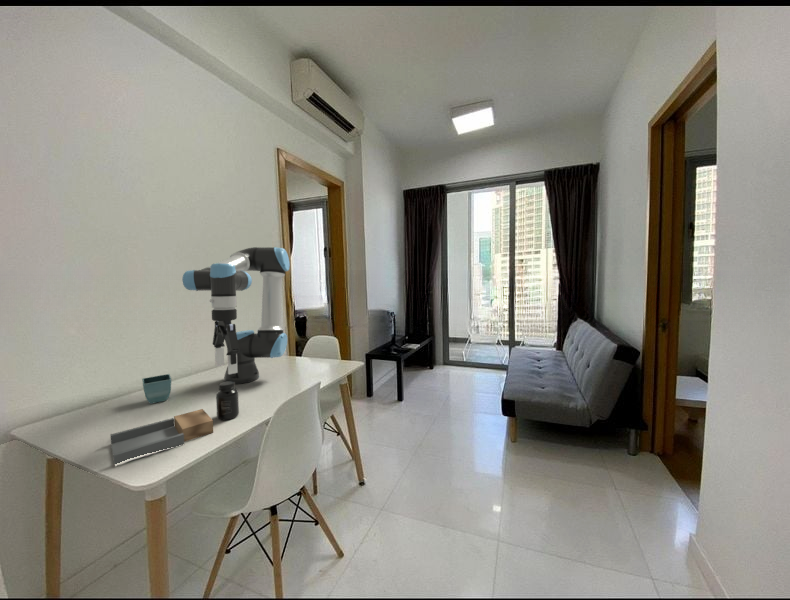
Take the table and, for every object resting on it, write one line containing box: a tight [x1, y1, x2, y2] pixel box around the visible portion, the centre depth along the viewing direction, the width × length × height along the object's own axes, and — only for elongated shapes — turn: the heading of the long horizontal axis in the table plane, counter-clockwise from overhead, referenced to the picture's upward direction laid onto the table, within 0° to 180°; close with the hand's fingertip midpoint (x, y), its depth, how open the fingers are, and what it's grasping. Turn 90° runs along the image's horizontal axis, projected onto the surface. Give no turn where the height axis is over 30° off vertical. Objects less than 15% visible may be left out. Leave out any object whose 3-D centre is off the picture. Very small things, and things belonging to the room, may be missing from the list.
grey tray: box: [110, 417, 185, 465], centre depth 88 cm, size 15×15×3 cm
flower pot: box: [141, 373, 172, 405], centre depth 120 cm, size 9×9×9 cm
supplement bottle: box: [215, 381, 240, 421], centre depth 106 cm, size 7×7×12 cm
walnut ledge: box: [173, 408, 214, 443], centre depth 97 cm, size 8×12×4 cm, turn 46°
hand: (226, 369), depth 105 cm, fingers open, 13 cm apart
